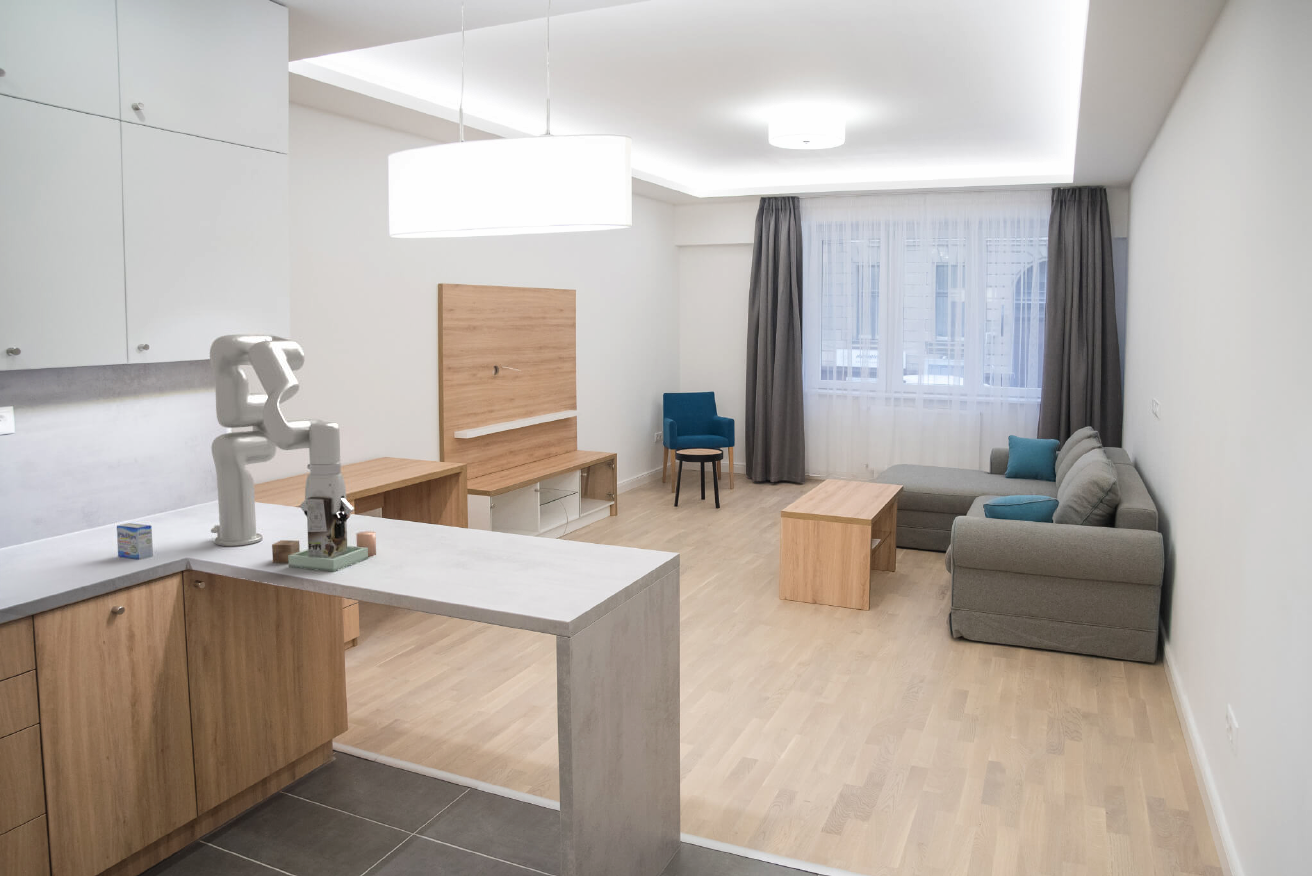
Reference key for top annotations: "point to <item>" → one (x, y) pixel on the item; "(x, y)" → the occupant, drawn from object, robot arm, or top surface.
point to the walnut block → (284, 550)
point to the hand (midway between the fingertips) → (327, 536)
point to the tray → (325, 563)
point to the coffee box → (323, 530)
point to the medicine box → (134, 541)
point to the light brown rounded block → (367, 541)
